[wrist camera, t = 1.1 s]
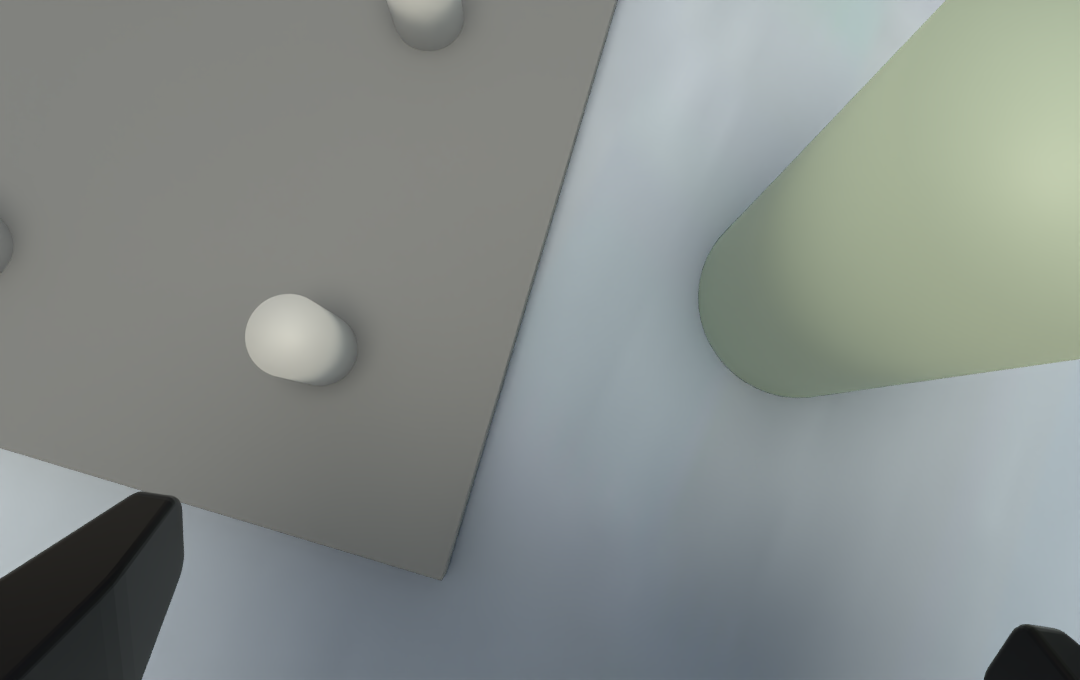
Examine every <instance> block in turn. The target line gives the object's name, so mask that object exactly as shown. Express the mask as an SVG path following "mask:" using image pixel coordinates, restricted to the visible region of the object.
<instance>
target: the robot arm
mask: <svg viewBox="0 0 1080 680" xmlns="http://www.w3.org/2000/svg"><path fill="white" fill-rule="evenodd" d="M183 560H184V542H183V521H182V506H181V503H180V501H179V499H178V498H176V497H174V496H171V495H164V494H157V493H151V492H137V493H135V494H132V495H131V496H129V497H127V498H126V499H124V500H123V501H121V502H120V503H118V504H116V505H115V506H113V507H112V508H110V509H109V510H107V511H105V512H104V513H102V514H101V515H99V516H98V517H96V518H95V519H93V520H91V521H90V522H88V523H87V524H85V525H84V526H82V527H80V528H79V529H77V530H76V531H74V532H73V533H71V534H69V535H68V536H66V537H65V538H63V539H62V540H60V541H59V542H57V543H55V544H54V545H52V546H51V547H49V548H48V549H46V550H44V551H43V552H41V553H40V554H38V555H37V556H35V557H34V558H32V559H30V560H29V561H27V562H26V563H24V564H23V565H21V566H19V567H18V568H16V569H15V570H13V571H12V572H10V573H9V574H7V575H5V576H4V577H2V578H1V579H0V680H142V677H143V674H144V672H145V669H146V666H147V664H148V661H149V658H150V656H151V653H152V650H153V647H154V645H155V642H156V639H157V637H158V634H159V631H160V629H161V626H162V623H163V621H164V618H165V615H166V613H167V610H168V607H169V605H170V602H171V599H172V597H173V594H174V591H175V589H176V586H177V583H178V581H179V578H180V575H181V571H182V567H183ZM984 680H1080V645H1079V644H1078V643H1077V642H1075V641H1074V640H1073V639H1072V638H1071V637H1069V636H1068V635H1067V634H1065V633H1064V632H1062V631H1060V630H1058V629H1055V628H1050V627H1043V626H1036V625H1030V624H1023V625H1020V626H1018V627H1017V628H1015V629H1014V630H1013V631H1012V633H1011V634H1010V636H1009V637H1008V639H1007V640H1006V642H1005V643H1004V645H1003V646H1002V648H1001V649H1000V651H999V652H998V654H997V655H996V657H995V658H994V660H993V661H992V663H991V664H990V666H989V667H988V669H987V671H986V673H985V677H984Z"/></svg>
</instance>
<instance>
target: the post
mask: <svg viewBox="0 0 1080 680" xmlns="http://www.w3.org/2000/svg"><path fill="white" fill-rule="evenodd" d="M698 301H699V312H700V318H701V322H702V325H703V329H704V332H705V334H706V336H707V339H708V341H709V343H710V345H711V346H712V348H713V350H714V351H715V353H716V354H717V356H718V357H719V358H720V360H721V361H722V362H723V363H724V364H725V366H726V367H728V368H729V369H730V370H731V371H732V372H733V373H734V374H735V375H736V376H738V377H739V378H740V379H742V380H743V381H745V382H746V383H748V384H750V385H752V386H753V387H755V388H757V389H760V390H762V391H765V392H767V393H771V394H774V395H778V396H784V397H792V398H808V397H815V396H822V395H829V394H836V393H843V392H850V391H857V390H864V389H872V388H879V387H886V386H893V385H900V384H907V383H914V382H921V381H928V380H935V379H942V378H949V377H956V376H963V375H970V374H977V373H985V372H992V371H999V370H1006V369H1013V368H1020V367H1027V366H1034V365H1041V364H1048V363H1055V362H1062V361H1069V360H1076V359H1080V0H946V1H945V2H944V3H943V4H942V5H941V6H940V7H939V8H938V9H937V10H936V11H935V12H934V13H933V14H932V15H931V16H930V18H929V19H928V20H927V21H926V22H925V23H924V24H923V25H922V26H921V27H920V28H919V29H918V30H917V31H916V32H915V33H914V34H913V35H912V36H911V37H910V39H909V40H908V41H907V42H906V43H905V44H904V45H903V46H902V47H901V48H900V49H899V50H898V51H897V52H896V53H895V54H894V55H893V56H892V57H891V58H890V59H889V61H888V62H887V63H886V64H885V65H884V66H883V67H882V68H881V69H880V70H879V71H878V72H877V73H876V74H875V75H874V76H873V77H872V78H871V79H870V80H869V82H868V83H867V84H866V85H865V86H864V87H863V88H862V89H861V90H860V91H859V92H858V93H857V94H856V95H855V96H854V97H853V98H852V99H851V100H850V101H849V102H848V104H847V105H846V106H845V107H844V108H843V109H842V110H841V111H840V112H839V113H838V114H837V115H836V116H835V117H834V118H833V119H832V120H831V121H830V122H829V123H828V125H827V126H826V127H825V128H824V129H823V130H822V131H821V132H820V133H819V134H818V135H817V136H816V137H815V138H814V139H813V140H812V141H811V142H810V143H809V144H808V145H807V147H806V148H805V149H804V150H803V151H802V152H801V153H800V154H799V155H798V156H797V157H796V158H795V159H794V160H793V161H792V162H791V163H790V164H789V165H788V166H787V168H786V169H785V170H784V171H783V172H782V173H781V174H780V175H779V176H778V177H777V178H776V179H775V180H774V181H773V182H772V183H771V184H770V185H769V186H768V187H767V188H766V190H765V191H764V192H763V193H762V194H761V195H760V196H759V197H758V198H757V199H756V200H755V201H754V202H753V203H752V204H751V205H750V206H749V207H748V208H747V209H746V211H745V212H744V213H743V214H742V215H741V216H740V217H739V218H738V219H737V220H736V221H735V222H734V223H733V224H732V225H731V226H730V227H729V228H728V229H727V230H726V231H725V233H724V234H723V235H722V236H721V237H720V238H719V239H718V241H717V242H716V243H715V245H714V246H713V248H712V249H711V251H710V253H709V255H708V257H707V259H706V262H705V264H704V267H703V269H702V273H701V278H700V282H699V292H698Z"/></svg>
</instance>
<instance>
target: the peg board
mask: <svg viewBox="0 0 1080 680" xmlns="http://www.w3.org/2000/svg"><path fill="white" fill-rule="evenodd" d="M617 1H618V0H0V448H2V449H5V450H9V451H12V452H15V453H19V454H22V455H25V456H28V457H32V458H35V459H38V460H42V461H45V462H48V463H52V464H55V465H58V466H62V467H65V468H68V469H72V470H75V471H78V472H82V473H85V474H88V475H92V476H95V477H98V478H102V479H105V480H108V481H112V482H115V483H118V484H122V485H125V486H128V487H132V488H135V489H138V490H142V491H145V492H151V493H157V494H164V495H171V496H174V497H176V498H178V499H179V501H180V502H181V503H185V504H188V505H191V506H195V507H198V508H201V509H205V510H208V511H211V512H215V513H218V514H221V515H225V516H228V517H231V518H235V519H238V520H241V521H245V522H248V523H251V524H255V525H258V526H261V527H265V528H268V529H271V530H275V531H278V532H281V533H285V534H288V535H291V536H294V537H298V538H301V539H304V540H308V541H311V542H314V543H318V544H321V545H324V546H328V547H331V548H334V549H338V550H341V551H344V552H348V553H351V554H354V555H358V556H361V557H364V558H368V559H371V560H374V561H378V562H381V563H384V564H388V565H391V566H394V567H398V568H401V569H404V570H408V571H411V572H414V573H417V574H421V575H424V576H427V577H431V578H434V579H437V580H441V581H442V579H443V577H444V576H445V574H446V572H447V569H448V565H449V562H450V559H451V555H452V552H453V549H454V545H455V542H456V539H457V535H458V532H459V529H460V525H461V522H462V518H463V515H464V512H465V508H466V505H467V502H468V498H469V495H470V492H471V488H472V485H473V482H474V478H475V475H476V472H477V468H478V465H479V462H480V458H481V455H482V452H483V448H484V445H485V442H486V438H487V435H488V432H489V428H490V425H491V422H492V418H493V415H494V412H495V408H496V405H497V402H498V398H499V395H500V392H501V388H502V385H503V382H504V378H505V375H506V372H507V368H508V365H509V362H510V358H511V355H512V352H513V348H514V345H515V342H516V338H517V335H518V332H519V328H520V325H521V322H522V318H523V315H524V312H525V308H526V305H527V302H528V298H529V295H530V292H531V288H532V285H533V282H534V278H535V275H536V272H537V268H538V265H539V262H540V258H541V255H542V252H543V248H544V245H545V242H546V238H547V235H548V232H549V228H550V225H551V222H552V218H553V215H554V212H555V208H556V205H557V202H558V198H559V195H560V192H561V188H562V185H563V182H564V178H565V175H566V172H567V168H568V165H569V162H570V158H571V155H572V152H573V148H574V145H575V142H576V138H577V135H578V132H579V128H580V125H581V122H582V118H583V115H584V112H585V108H586V105H587V102H588V98H589V95H590V92H591V88H592V85H593V82H594V78H595V75H596V72H597V68H598V65H599V62H600V58H601V55H602V52H603V48H604V45H605V42H606V38H607V35H608V31H609V28H610V25H611V21H612V18H613V15H614V11H615V8H616V5H617Z"/></svg>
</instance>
